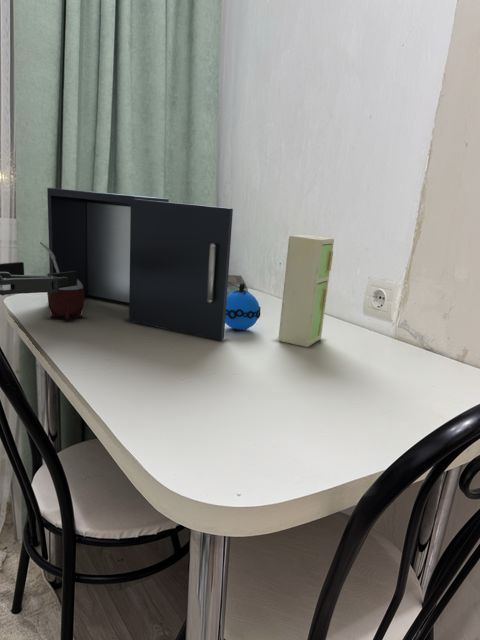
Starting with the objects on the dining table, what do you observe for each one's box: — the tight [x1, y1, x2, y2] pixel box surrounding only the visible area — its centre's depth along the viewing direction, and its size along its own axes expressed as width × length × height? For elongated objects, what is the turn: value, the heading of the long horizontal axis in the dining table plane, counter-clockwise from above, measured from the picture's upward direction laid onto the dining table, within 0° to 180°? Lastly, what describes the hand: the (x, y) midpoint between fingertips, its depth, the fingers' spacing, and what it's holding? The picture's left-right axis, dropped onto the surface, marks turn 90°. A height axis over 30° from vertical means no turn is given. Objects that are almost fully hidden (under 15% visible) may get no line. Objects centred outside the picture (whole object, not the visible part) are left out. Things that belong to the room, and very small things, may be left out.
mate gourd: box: [39, 241, 85, 323], centre depth 103 cm, size 8×8×15 cm
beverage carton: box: [227, 274, 249, 295], centre depth 134 cm, size 8×19×7 cm, turn 7°
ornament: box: [225, 283, 261, 331], centre depth 107 cm, size 9×9×10 cm
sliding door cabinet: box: [46, 187, 234, 341], centre depth 108 cm, size 45×15×26 cm, turn 66°
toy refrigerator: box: [278, 234, 335, 348], centre depth 101 cm, size 8×7×21 cm
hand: (48, 273), depth 99 cm, fingers open, 13 cm apart
